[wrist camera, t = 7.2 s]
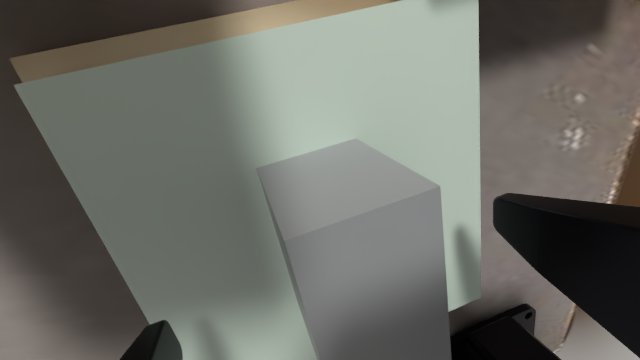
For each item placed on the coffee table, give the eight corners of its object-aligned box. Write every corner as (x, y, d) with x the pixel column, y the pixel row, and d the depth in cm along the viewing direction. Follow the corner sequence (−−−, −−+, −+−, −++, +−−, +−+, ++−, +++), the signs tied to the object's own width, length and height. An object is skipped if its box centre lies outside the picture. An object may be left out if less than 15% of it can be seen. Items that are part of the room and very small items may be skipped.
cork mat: (454, 270, 16) (462, 277, 16) (193, 376, 14) (192, 388, 13) (440, -27, 11) (451, -31, 11) (21, 58, 9) (9, 58, 8)
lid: (450, 269, 16) (575, 381, 10) (204, 370, 13) (198, 581, 8) (434, -5, 11) (650, -65, 6) (54, 79, 9) (-205, 114, 3)
